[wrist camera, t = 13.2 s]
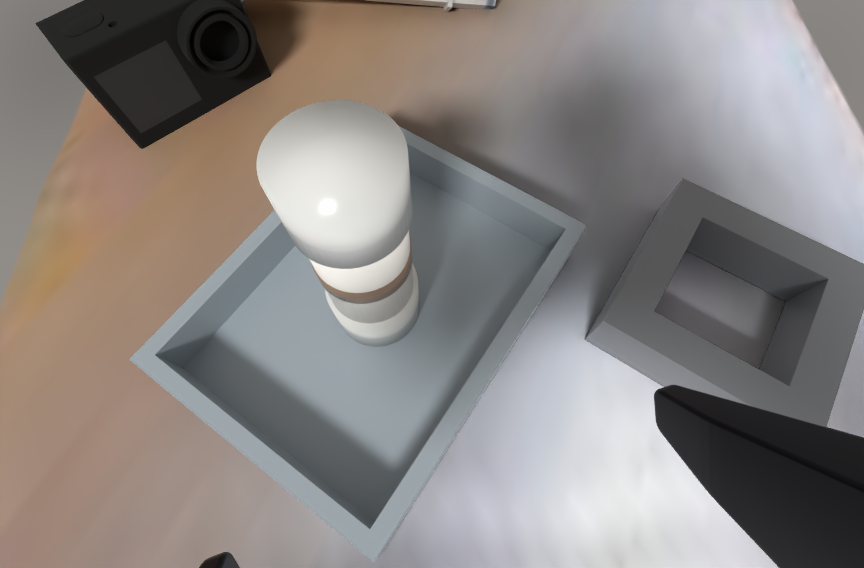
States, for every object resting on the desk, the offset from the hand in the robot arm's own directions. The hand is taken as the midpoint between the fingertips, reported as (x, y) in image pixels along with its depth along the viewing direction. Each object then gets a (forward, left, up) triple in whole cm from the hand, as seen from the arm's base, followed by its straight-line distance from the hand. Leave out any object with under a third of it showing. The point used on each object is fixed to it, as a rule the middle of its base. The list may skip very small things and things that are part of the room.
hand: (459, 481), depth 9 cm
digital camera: (+11, +28, -14) cm, 33 cm away
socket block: (+15, -7, -14) cm, 22 cm away
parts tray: (+5, +8, -14) cm, 16 cm away
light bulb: (+5, +8, -13) cm, 16 cm away
